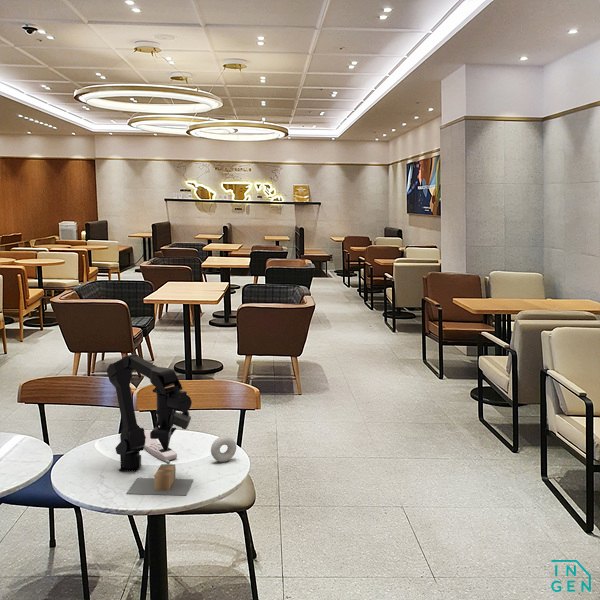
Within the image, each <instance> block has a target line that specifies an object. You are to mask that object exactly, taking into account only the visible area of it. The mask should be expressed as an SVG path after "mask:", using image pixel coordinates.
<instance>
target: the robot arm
mask: <svg viewBox="0 0 600 600" xmlns="http://www.w3.org/2000/svg"><path fill="white" fill-rule="evenodd" d="M133 371H135V372H137V373H139V374H140V375H143V376H144V377H146V378H148V379H149V380H150V381H149V382H150V384H151V385H152V386H154V387H155V388H153V389H152V390H151V391H152V393H155V394H156V410H155V411H154V413H155V415H156V422H155V427H154V428H152V430H151V432H150V438H151V439H156V440H157V441H159V443H160V444H161V445H162V447H163V449H164V451H167V450H168V447H169V448H170V442H171V438H172V435H174V433H175V432H176V430H177V427H178V428H181V429H182V430H187V429H188V427H189V425H190V422H191V420H192V416H190V411H189V410H190V409H191V406H192V399H191V397H190V396H189V395H187V394H188V392H187V391H185V390H183V386H182V383H181V381H180V379H179V378H178V375H177V374H176V371H175V370H174V369H172V368H168V367H163V366H162V367H161V366H157V365H155V364H153V363H151V362H150V361H149V360H148V361H147V360H146V359H144V358H142V357H141V356H139V354H137V353H133V354H128V355H125V356H123V357H121V359H119V360H117V361H115V362H112V363H110V364H108V367H107V368H106V374H107V376H108V379H109V380H108V381H109V382H110V384H112V386H113V387H114V388H115V392H116V397H117V403H118V407H119V413H120V419H121V423H122V429H121V432H120V434H119V439H120V442H119V443H118V444H117V445H116V446H115V448H114V449H115V452H116V454H117V455H120V456H119V457H120V462H119V463H120V467H119V469H118V471H119V472H138V470H139V469H140V467H142V455H141V453H140V452H142V451H144V450H145V449H144V448H145V439H146V437H145V433H144V431H145V428H144V427H140V425H139V424H138V422H137V418H136V417H137V415H136V412H135V407H134V401H133V397H132V390H131V387H130V386H131V381H132V378H133ZM174 426H175V427H174Z"/></svg>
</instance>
